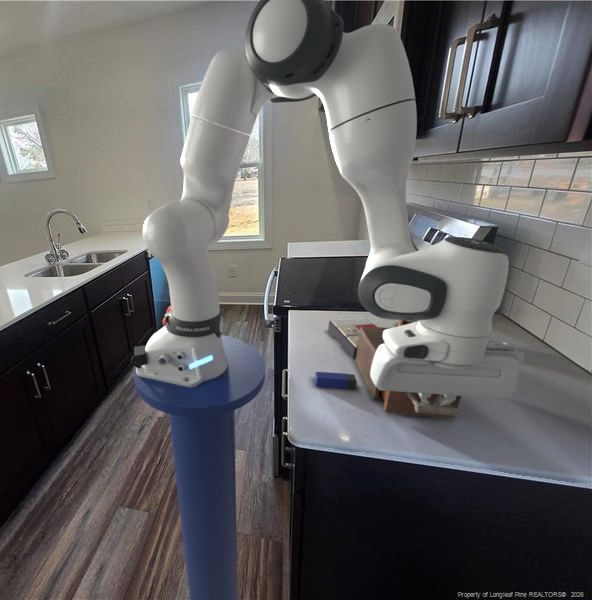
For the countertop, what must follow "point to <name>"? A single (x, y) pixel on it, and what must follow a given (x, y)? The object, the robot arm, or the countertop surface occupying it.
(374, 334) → the cabinet
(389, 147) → the robot arm
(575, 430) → the countertop surface
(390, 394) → the drawer
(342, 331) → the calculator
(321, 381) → the blue and gray block
